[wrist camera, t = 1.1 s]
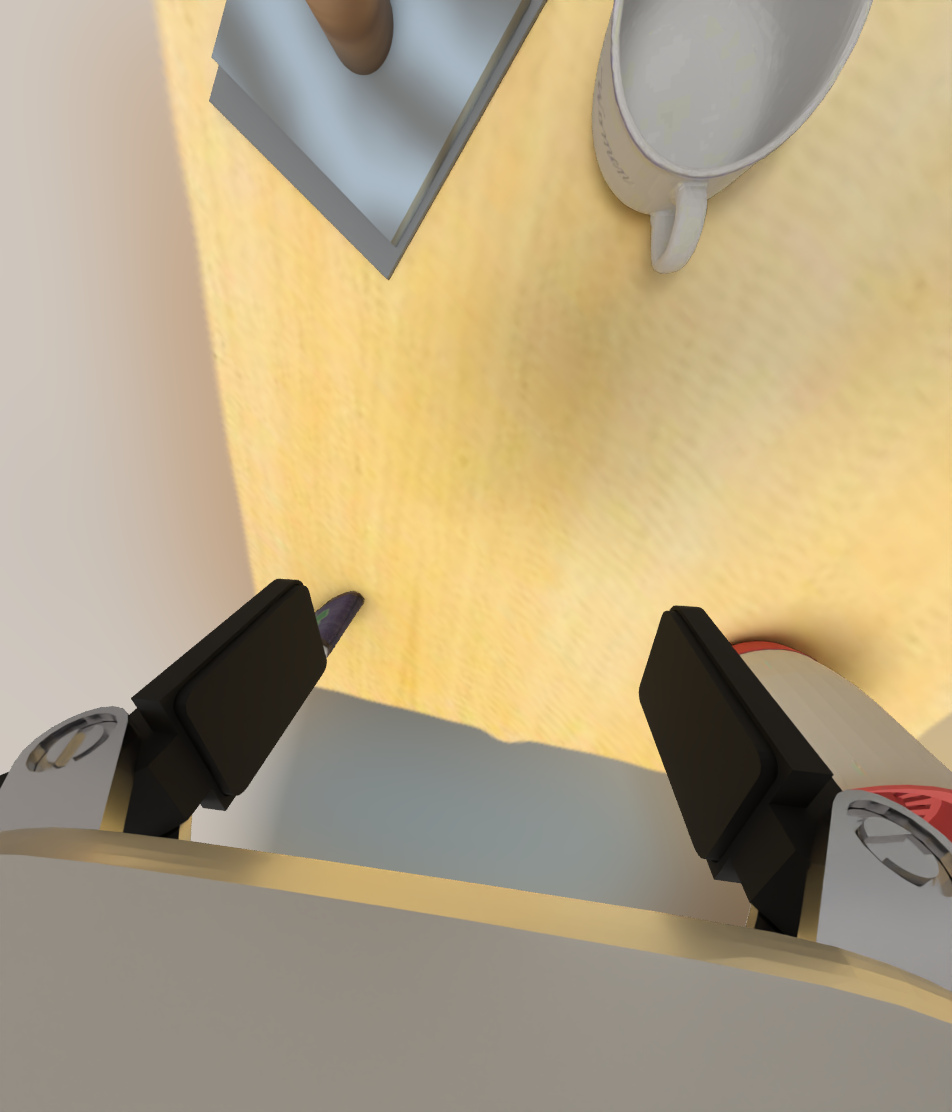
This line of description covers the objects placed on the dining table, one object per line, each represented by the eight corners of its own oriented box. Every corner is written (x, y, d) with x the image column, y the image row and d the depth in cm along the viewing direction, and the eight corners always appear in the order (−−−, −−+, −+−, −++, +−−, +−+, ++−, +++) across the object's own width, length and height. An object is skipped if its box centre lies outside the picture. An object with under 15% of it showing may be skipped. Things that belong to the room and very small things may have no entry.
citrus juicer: (634, 673, 42) (713, 883, 25) (785, 599, 36) (1042, 817, 18) (700, 741, 47) (808, 962, 29) (846, 686, 40) (1105, 934, 22)
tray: (341, -347, 16) (337, -363, 16) (561, -26, 20) (562, -33, 19) (213, 104, 24) (208, 100, 23) (388, 280, 27) (386, 278, 27)
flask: (320, 631, 46) (268, 698, 36) (304, 616, 45) (246, 680, 35) (369, 602, 42) (325, 667, 33) (353, 585, 41) (303, 646, 32)
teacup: (621, -38, 19) (679, -280, 12) (813, 1, 19) (985, -221, 12) (548, 273, 26) (558, 234, 19) (690, 304, 26) (754, 277, 19)
